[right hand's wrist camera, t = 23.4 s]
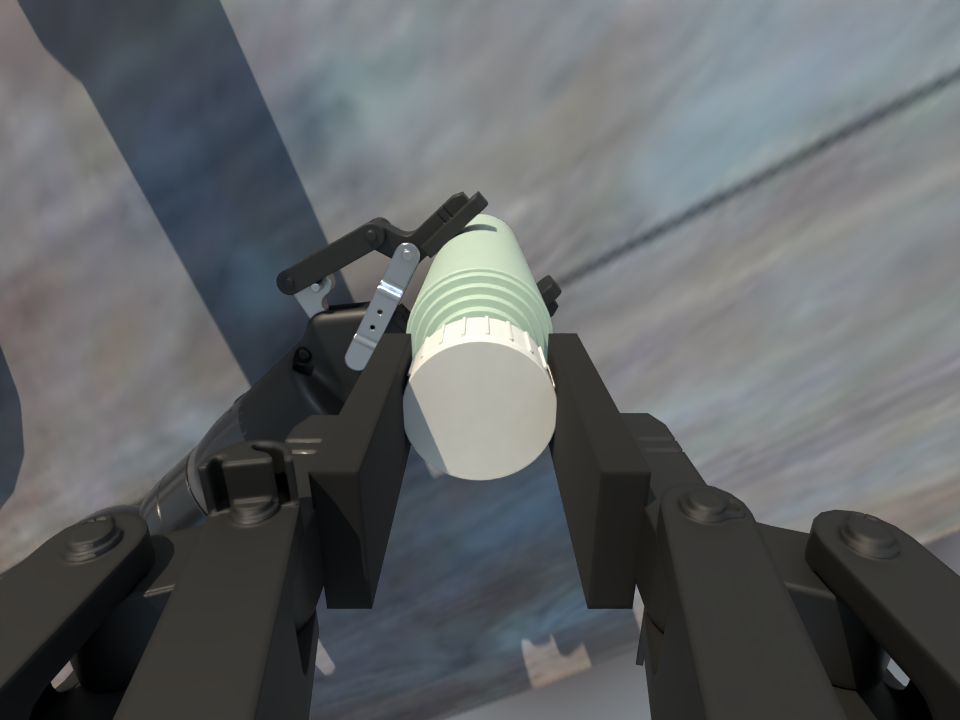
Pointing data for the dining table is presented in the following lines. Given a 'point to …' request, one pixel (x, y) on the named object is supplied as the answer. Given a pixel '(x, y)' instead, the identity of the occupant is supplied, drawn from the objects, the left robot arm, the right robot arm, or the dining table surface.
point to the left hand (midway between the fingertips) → (518, 242)
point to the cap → (479, 399)
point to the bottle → (480, 285)
